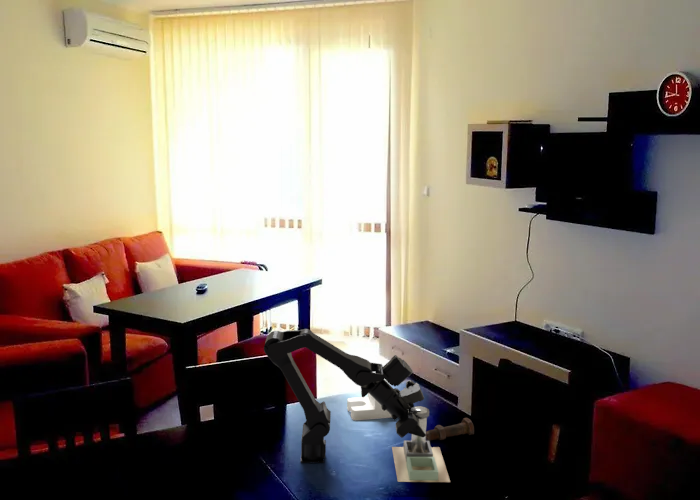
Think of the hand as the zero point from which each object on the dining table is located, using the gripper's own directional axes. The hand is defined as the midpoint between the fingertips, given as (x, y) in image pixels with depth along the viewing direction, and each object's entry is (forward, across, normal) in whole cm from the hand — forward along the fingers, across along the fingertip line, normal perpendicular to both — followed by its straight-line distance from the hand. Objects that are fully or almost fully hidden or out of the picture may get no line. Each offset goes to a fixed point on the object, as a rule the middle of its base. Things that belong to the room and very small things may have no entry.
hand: (423, 432), depth 179 cm
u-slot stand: (-2, +29, +14) cm, 32 cm away
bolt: (+13, +12, -1) cm, 18 cm away
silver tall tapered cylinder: (+4, 0, +6) cm, 7 cm away
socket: (+5, -9, +7) cm, 12 cm away
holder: (+5, 0, +7) cm, 8 cm away
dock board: (+5, -4, +7) cm, 9 cm away
